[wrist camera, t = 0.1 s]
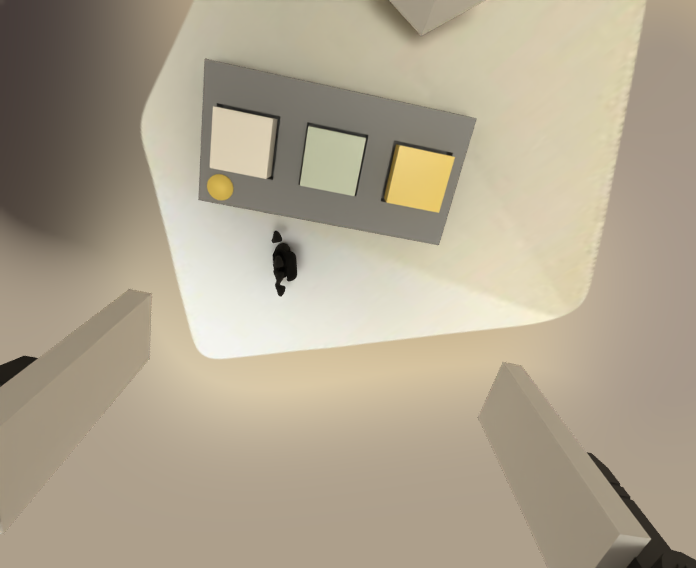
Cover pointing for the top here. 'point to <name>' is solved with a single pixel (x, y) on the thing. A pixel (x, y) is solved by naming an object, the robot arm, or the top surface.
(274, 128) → the ivory key
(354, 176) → the sage key
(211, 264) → the top surface
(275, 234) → the wireless earbuds
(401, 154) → the mustard key
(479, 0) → the die
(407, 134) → the key panel
